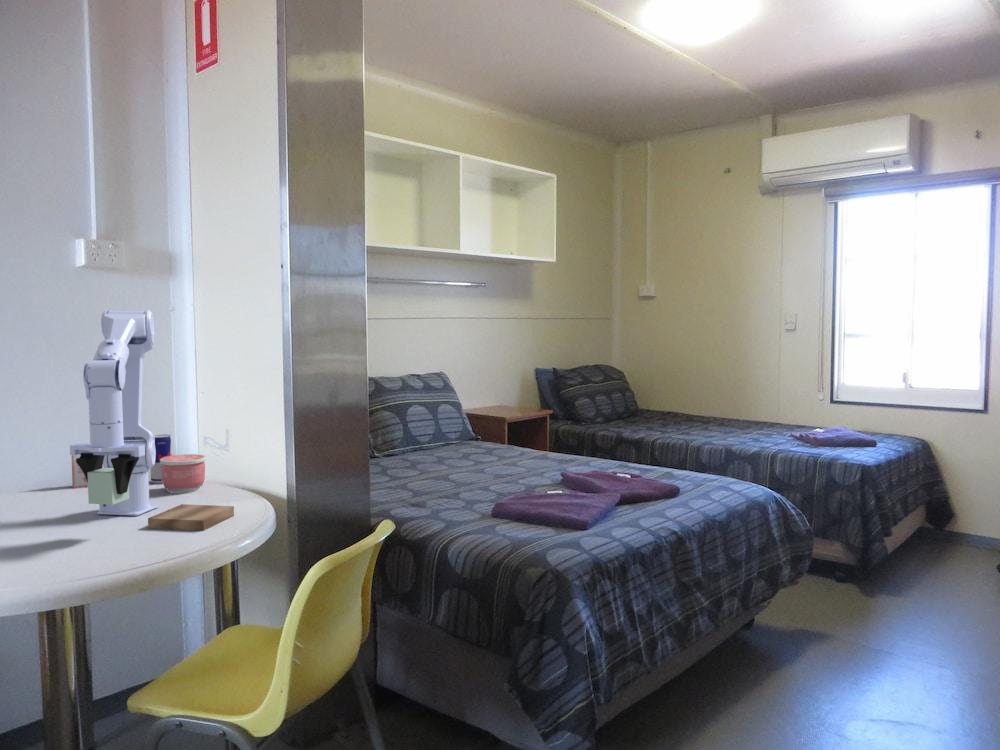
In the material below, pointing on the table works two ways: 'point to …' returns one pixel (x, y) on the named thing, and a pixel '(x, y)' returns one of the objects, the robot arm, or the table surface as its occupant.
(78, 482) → the printed cream box
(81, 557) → the table surface
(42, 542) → the table surface
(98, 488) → the sage block
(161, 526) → the walnut base
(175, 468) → the container
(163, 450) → the energy drink
